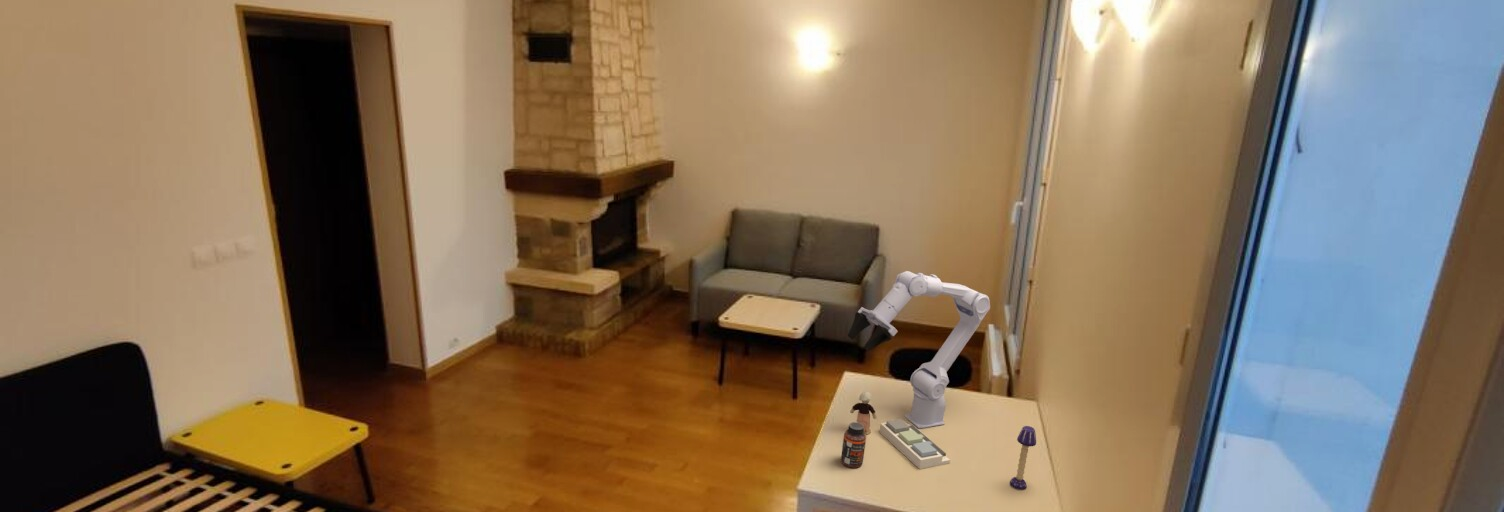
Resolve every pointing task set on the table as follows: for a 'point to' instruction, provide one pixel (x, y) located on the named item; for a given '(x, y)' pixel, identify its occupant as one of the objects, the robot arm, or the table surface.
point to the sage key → (910, 437)
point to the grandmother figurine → (864, 411)
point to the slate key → (924, 449)
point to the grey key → (897, 426)
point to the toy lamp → (1023, 455)
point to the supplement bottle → (853, 445)
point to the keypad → (910, 453)
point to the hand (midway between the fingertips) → (857, 343)
